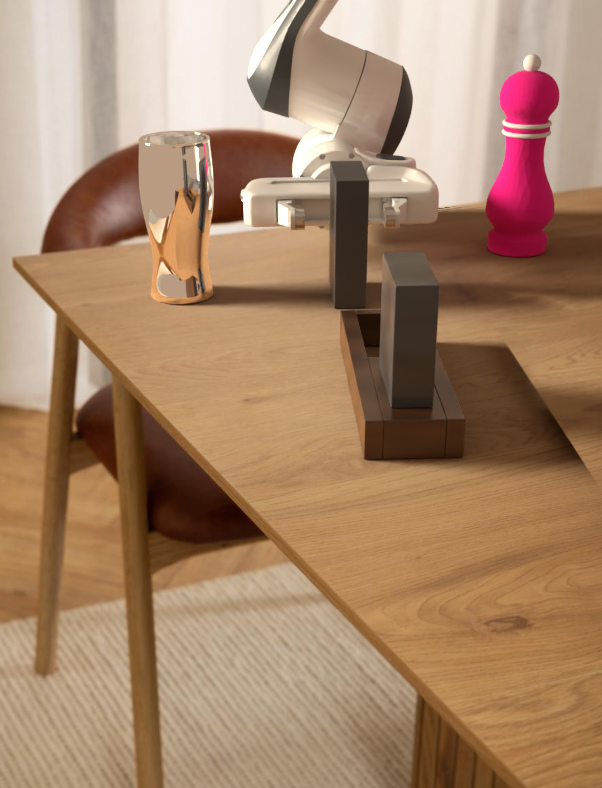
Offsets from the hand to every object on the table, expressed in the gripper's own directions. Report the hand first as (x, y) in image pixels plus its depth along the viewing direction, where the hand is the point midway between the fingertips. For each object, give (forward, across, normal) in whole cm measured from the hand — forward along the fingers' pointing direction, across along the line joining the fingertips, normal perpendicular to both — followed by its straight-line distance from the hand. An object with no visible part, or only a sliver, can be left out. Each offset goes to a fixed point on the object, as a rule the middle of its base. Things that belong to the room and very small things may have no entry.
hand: (345, 221), depth 117 cm
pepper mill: (-9, +19, +6) cm, 22 cm away
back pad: (+5, 0, +6) cm, 8 cm away
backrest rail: (+30, +2, +6) cm, 30 cm away
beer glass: (+4, -16, +6) cm, 18 cm away
